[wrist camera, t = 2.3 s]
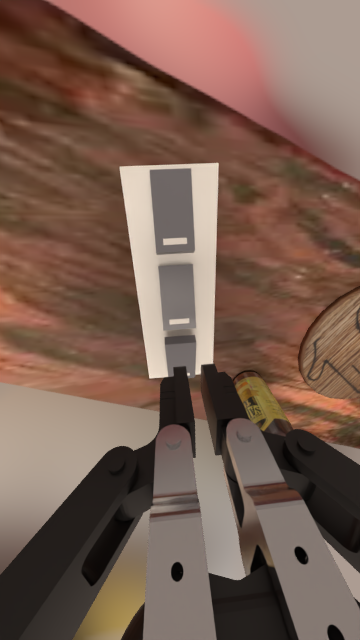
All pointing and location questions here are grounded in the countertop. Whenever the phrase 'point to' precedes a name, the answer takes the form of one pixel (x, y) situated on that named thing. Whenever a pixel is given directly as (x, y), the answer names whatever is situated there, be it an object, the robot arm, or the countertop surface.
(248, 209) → the countertop surface
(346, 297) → the trivet
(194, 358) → the far rocker
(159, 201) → the plate
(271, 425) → the sauce bottle
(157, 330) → the switch console
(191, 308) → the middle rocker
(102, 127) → the countertop surface
